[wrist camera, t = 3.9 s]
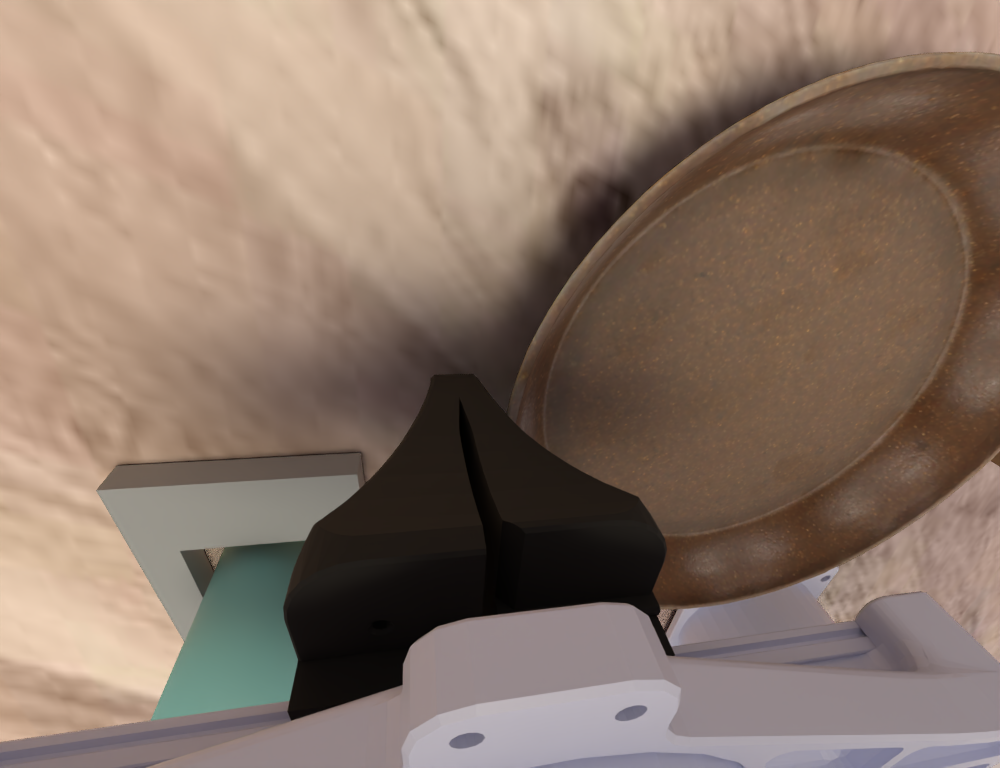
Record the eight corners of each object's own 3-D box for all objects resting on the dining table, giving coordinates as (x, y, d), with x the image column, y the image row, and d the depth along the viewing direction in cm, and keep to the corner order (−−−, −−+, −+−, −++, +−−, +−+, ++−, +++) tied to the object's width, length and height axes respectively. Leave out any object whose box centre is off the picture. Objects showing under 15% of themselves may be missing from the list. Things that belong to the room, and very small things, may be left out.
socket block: (383, 624, 20) (382, 647, 19) (210, 645, 18) (201, 670, 18) (360, 452, 14) (357, 474, 14) (116, 465, 13) (96, 490, 12)
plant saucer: (833, -169, 8) (1014, -285, 6) (1071, 300, 16) (1196, 338, 13) (384, 458, 15) (378, 532, 12) (705, 582, 22) (742, 643, 20)
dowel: (333, 584, 18) (301, 774, 13) (236, 593, 17) (161, 798, 12) (320, 523, 16) (276, 718, 11) (209, 532, 15) (108, 743, 10)
